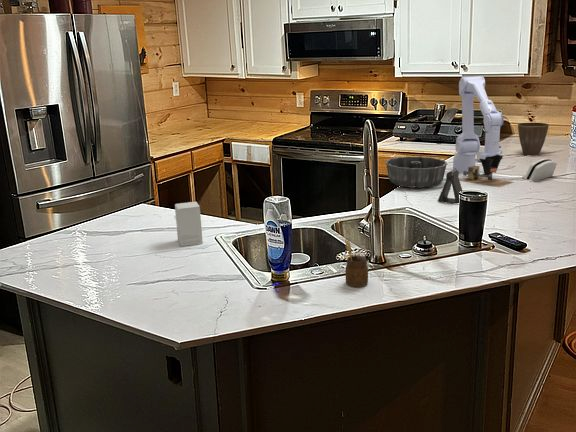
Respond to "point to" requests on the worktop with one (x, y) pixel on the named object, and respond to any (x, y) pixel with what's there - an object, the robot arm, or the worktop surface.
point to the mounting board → (488, 182)
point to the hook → (493, 169)
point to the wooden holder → (471, 173)
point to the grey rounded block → (540, 170)
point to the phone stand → (455, 184)
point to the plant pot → (532, 137)
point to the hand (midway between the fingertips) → (490, 173)
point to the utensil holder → (356, 269)
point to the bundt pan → (416, 171)
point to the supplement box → (188, 223)
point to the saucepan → (481, 153)
